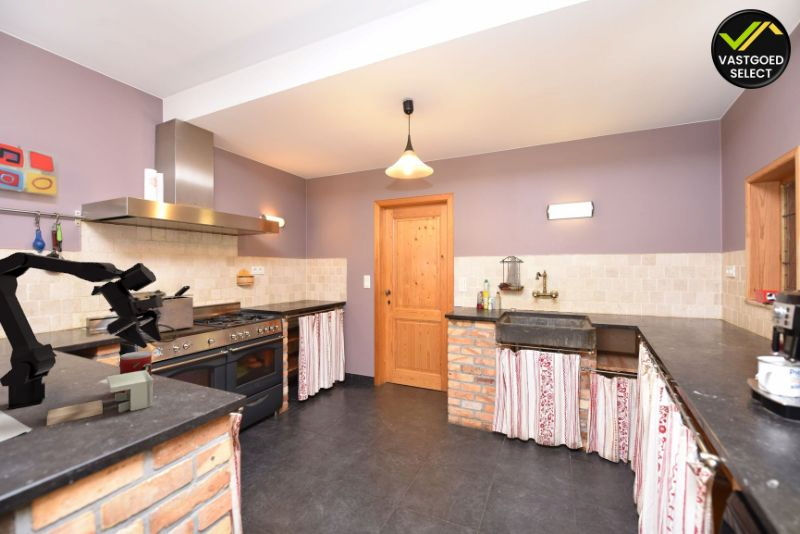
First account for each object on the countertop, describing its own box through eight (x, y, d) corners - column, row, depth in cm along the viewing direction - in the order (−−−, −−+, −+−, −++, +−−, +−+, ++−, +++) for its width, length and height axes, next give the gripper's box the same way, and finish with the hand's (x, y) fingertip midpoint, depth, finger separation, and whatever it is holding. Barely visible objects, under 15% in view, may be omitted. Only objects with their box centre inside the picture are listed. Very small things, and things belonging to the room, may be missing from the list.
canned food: (134, 395, 101) (134, 357, 101) (112, 393, 103) (112, 356, 103) (158, 386, 109) (158, 351, 109) (137, 385, 110) (137, 350, 110)
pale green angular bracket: (110, 415, 87) (111, 387, 87) (107, 401, 96) (107, 376, 96) (153, 405, 93) (153, 380, 93) (145, 393, 103) (145, 370, 103)
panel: (46, 427, 82) (46, 418, 82) (48, 419, 86) (48, 410, 86) (102, 415, 88) (102, 406, 88) (101, 408, 93) (101, 399, 93)
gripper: (131, 286, 93) (165, 334, 95) (162, 284, 111) (190, 324, 113) (90, 309, 91) (126, 357, 93) (128, 303, 109) (157, 343, 111)
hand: (153, 344), depth 102 cm, fingers open, 9 cm apart
